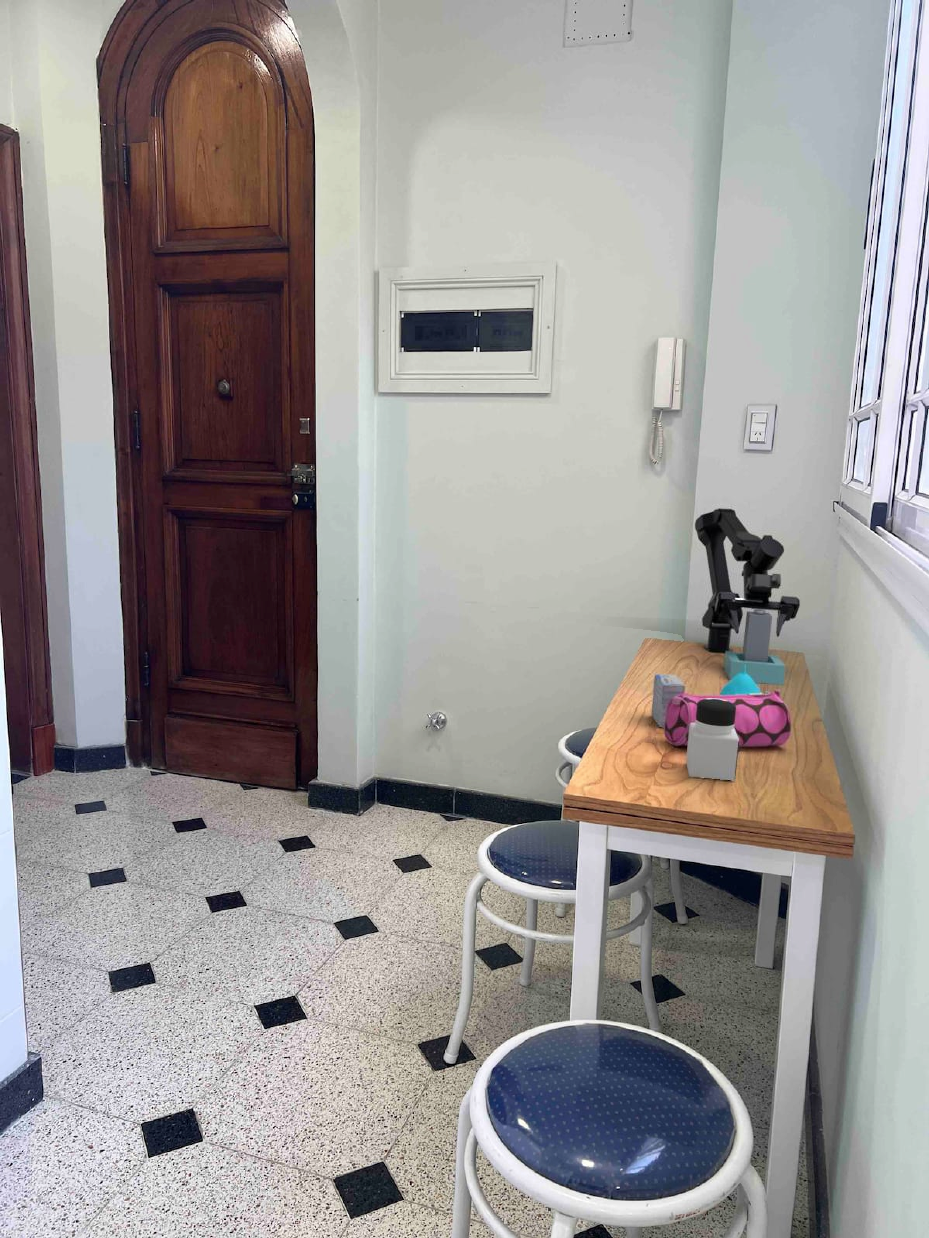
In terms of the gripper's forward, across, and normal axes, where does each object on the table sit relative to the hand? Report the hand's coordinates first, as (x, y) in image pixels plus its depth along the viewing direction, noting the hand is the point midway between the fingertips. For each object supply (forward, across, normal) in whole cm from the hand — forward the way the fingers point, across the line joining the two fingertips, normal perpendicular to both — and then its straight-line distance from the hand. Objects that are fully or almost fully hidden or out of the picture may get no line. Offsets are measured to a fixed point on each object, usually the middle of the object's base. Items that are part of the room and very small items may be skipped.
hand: (757, 634), depth 207 cm
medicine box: (+39, -22, -24) cm, 51 cm away
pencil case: (+46, -13, -31) cm, 57 cm away
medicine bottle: (+58, -17, -43) cm, 74 cm away
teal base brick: (+7, 0, +8) cm, 11 cm away
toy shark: (+33, -8, -18) cm, 38 cm away
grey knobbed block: (+5, 0, +6) cm, 8 cm away
